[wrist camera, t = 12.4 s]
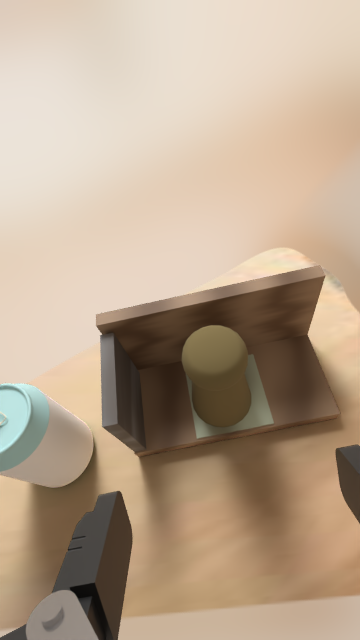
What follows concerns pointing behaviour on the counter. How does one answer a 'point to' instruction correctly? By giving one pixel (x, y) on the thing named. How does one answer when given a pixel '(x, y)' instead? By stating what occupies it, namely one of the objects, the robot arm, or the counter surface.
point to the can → (41, 438)
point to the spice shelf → (176, 388)
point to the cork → (217, 375)
